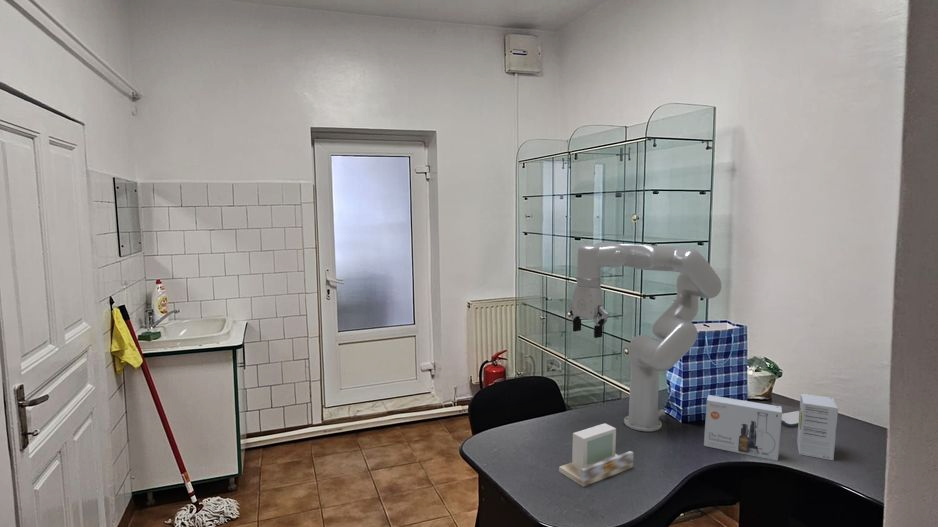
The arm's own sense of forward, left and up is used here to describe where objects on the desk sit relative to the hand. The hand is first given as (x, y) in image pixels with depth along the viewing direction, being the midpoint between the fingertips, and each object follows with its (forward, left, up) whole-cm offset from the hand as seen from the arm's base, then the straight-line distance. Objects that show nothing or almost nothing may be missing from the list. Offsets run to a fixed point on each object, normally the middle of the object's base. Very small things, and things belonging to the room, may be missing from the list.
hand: (587, 334), depth 183 cm
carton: (+15, +19, -33) cm, 41 cm away
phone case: (-71, +33, -35) cm, 85 cm away
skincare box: (-32, +36, -35) cm, 59 cm away
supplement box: (-51, +49, -34) cm, 79 cm away
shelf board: (+15, +20, -34) cm, 42 cm away
